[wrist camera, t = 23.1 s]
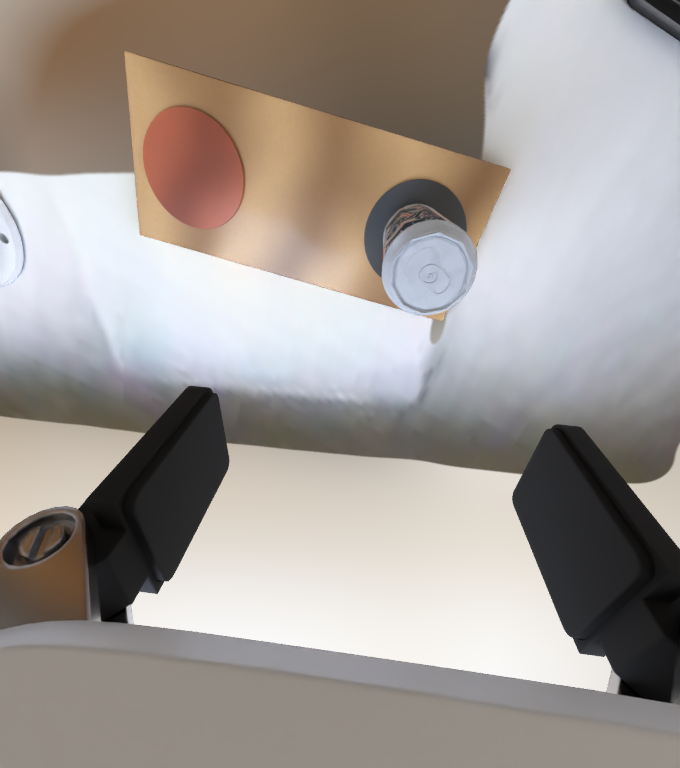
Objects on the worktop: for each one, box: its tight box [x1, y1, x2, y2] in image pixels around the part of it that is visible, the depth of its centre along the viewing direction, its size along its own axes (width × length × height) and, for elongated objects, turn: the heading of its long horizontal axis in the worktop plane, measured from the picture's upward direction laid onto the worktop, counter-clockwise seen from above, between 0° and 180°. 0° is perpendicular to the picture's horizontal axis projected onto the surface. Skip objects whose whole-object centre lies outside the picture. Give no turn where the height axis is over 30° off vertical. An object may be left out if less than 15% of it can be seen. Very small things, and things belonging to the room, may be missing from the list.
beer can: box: [382, 204, 477, 316], centre depth 21 cm, size 5×5×12 cm
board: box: [124, 51, 511, 321], centre depth 27 cm, size 28×12×2 cm, turn 76°
